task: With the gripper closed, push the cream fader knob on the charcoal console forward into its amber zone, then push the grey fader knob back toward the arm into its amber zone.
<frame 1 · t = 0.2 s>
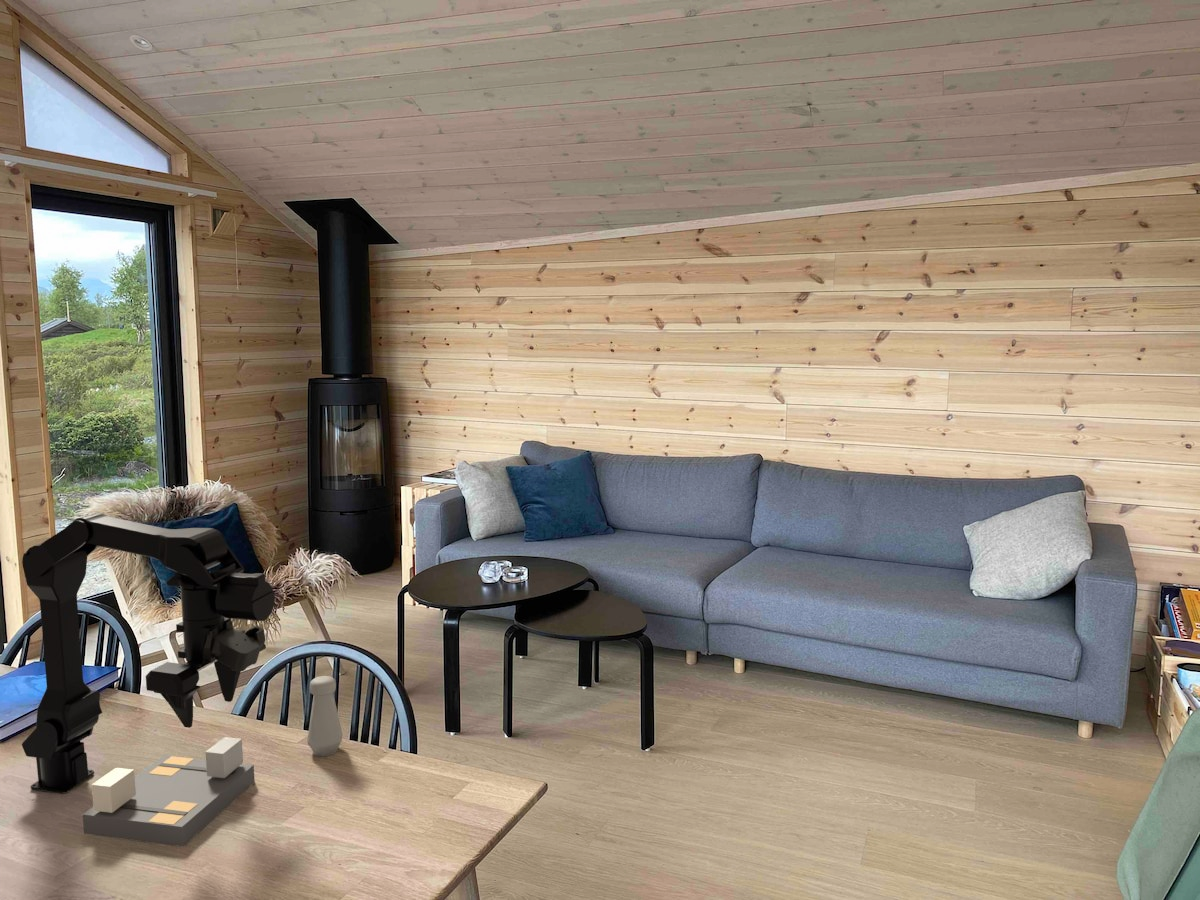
hand: (209, 713, 139), 14 cm above the table, tool pointing down, fingers open, 9 cm apart
grey fader: (224, 757, 144), point 6 cm above the table, slide at 5.0 cm
console: (173, 806, 140), on the table
cream fader: (114, 789, 134), point 6 cm above the table, slide at -5.0 cm
salt shaker: (325, 751, 157), on the table
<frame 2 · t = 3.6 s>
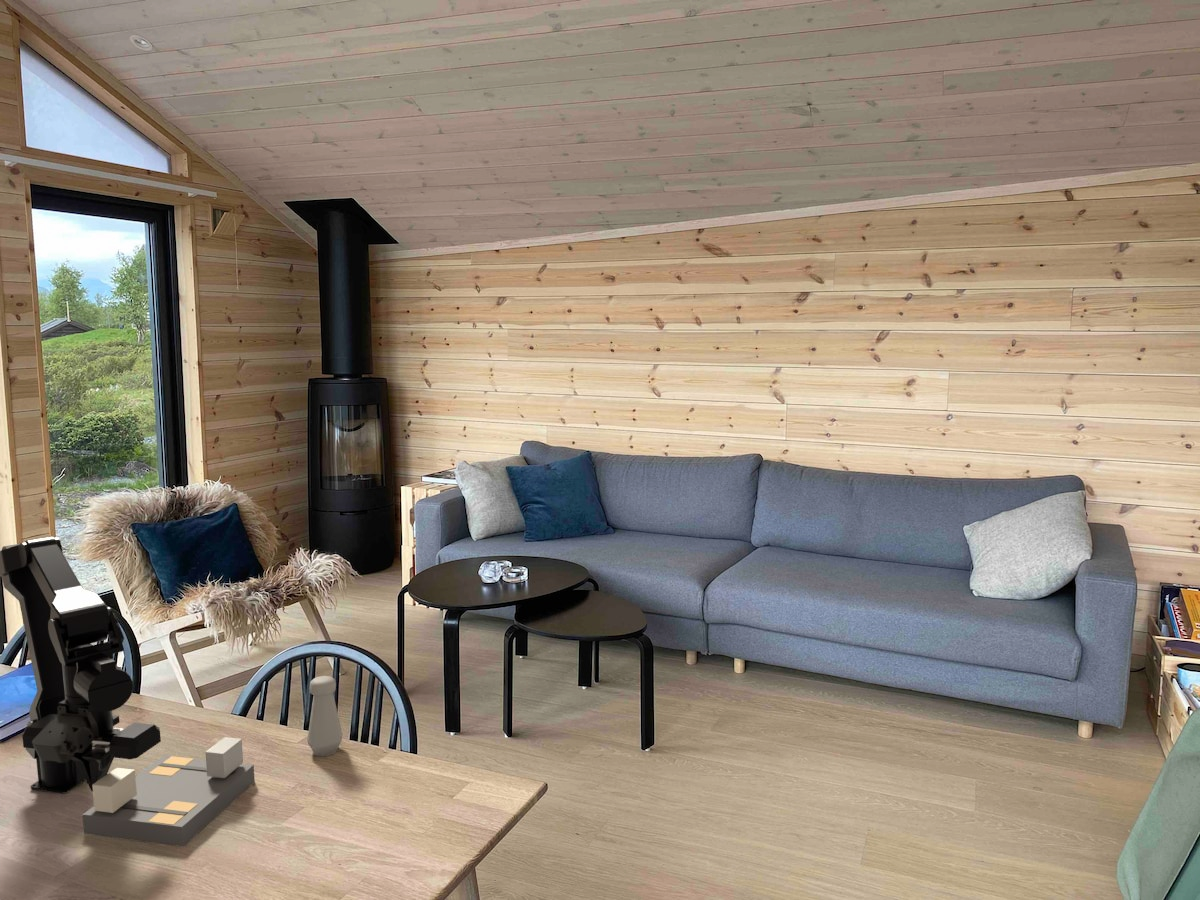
hand: (96, 790, 135), 5 cm above the table, tool pointing down, fingers closed
cream fader: (114, 789, 134), point 6 cm above the table, slide at -4.9 cm, touching gripper
everything else where it was.
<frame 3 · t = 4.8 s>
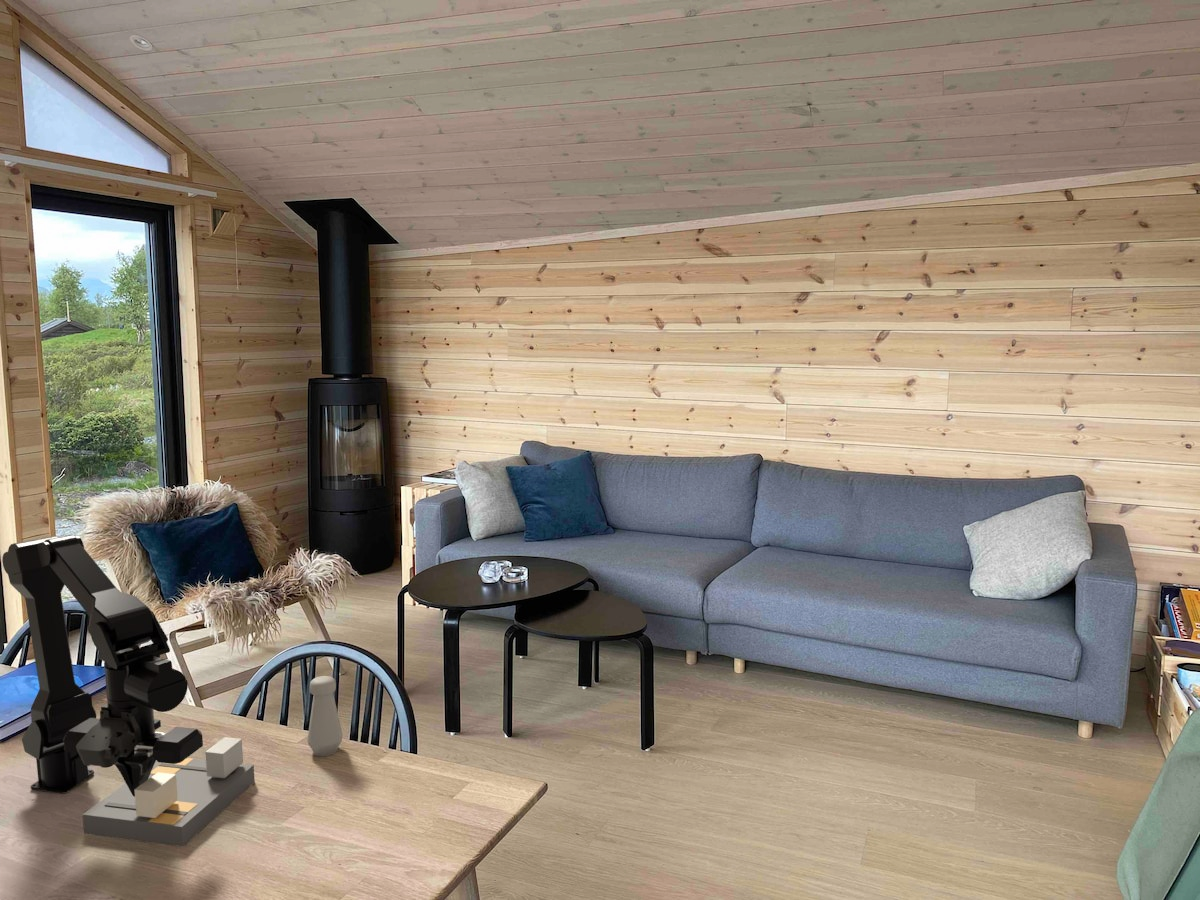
hand: (137, 795, 133), 5 cm above the table, tool pointing down, fingers closed
cream fader: (156, 794, 133), point 5 cm above the table, slide at 2.0 cm, touching gripper
everything else where it was.
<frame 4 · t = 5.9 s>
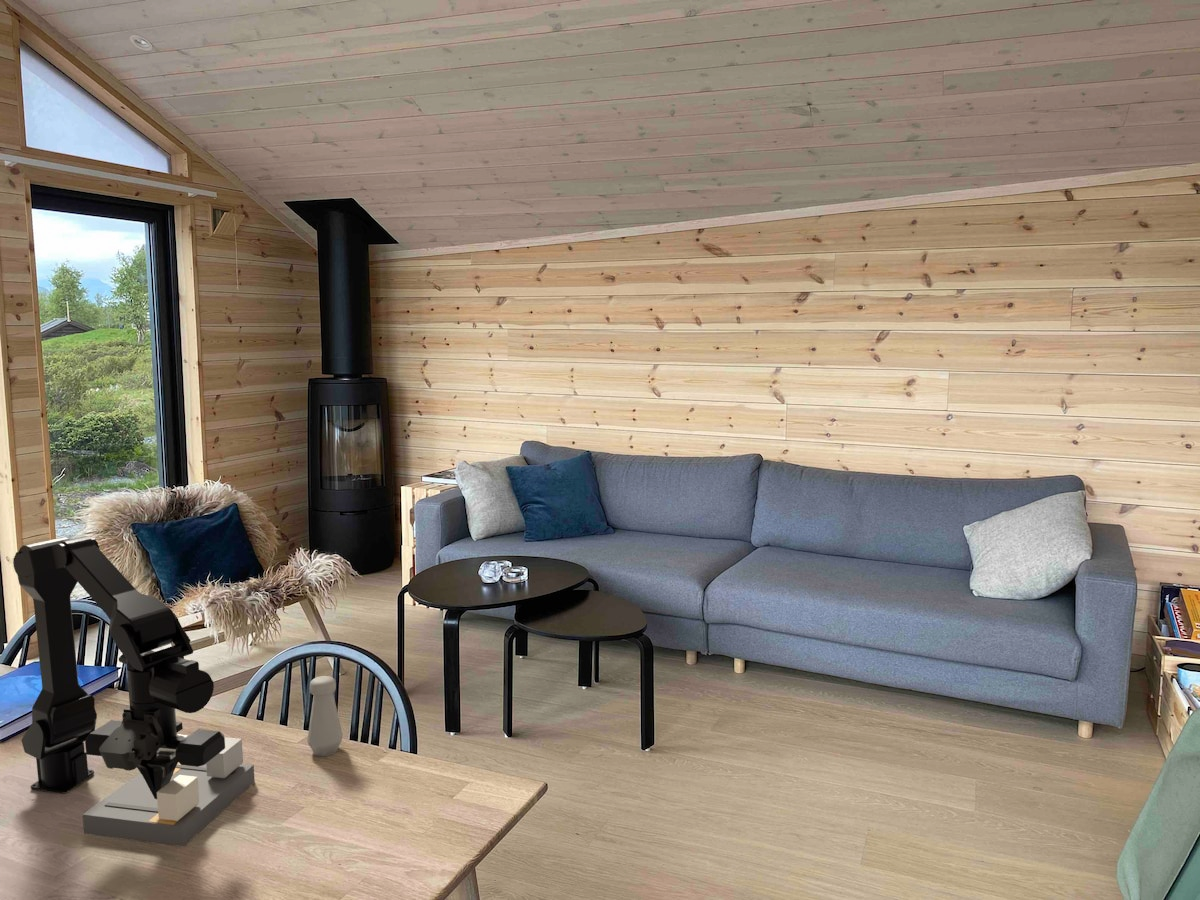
hand: (159, 798, 133), 5 cm above the table, tool pointing down, fingers closed
cream fader: (178, 797, 132), point 5 cm above the table, slide at 5.5 cm, touching gripper
everything else where it was.
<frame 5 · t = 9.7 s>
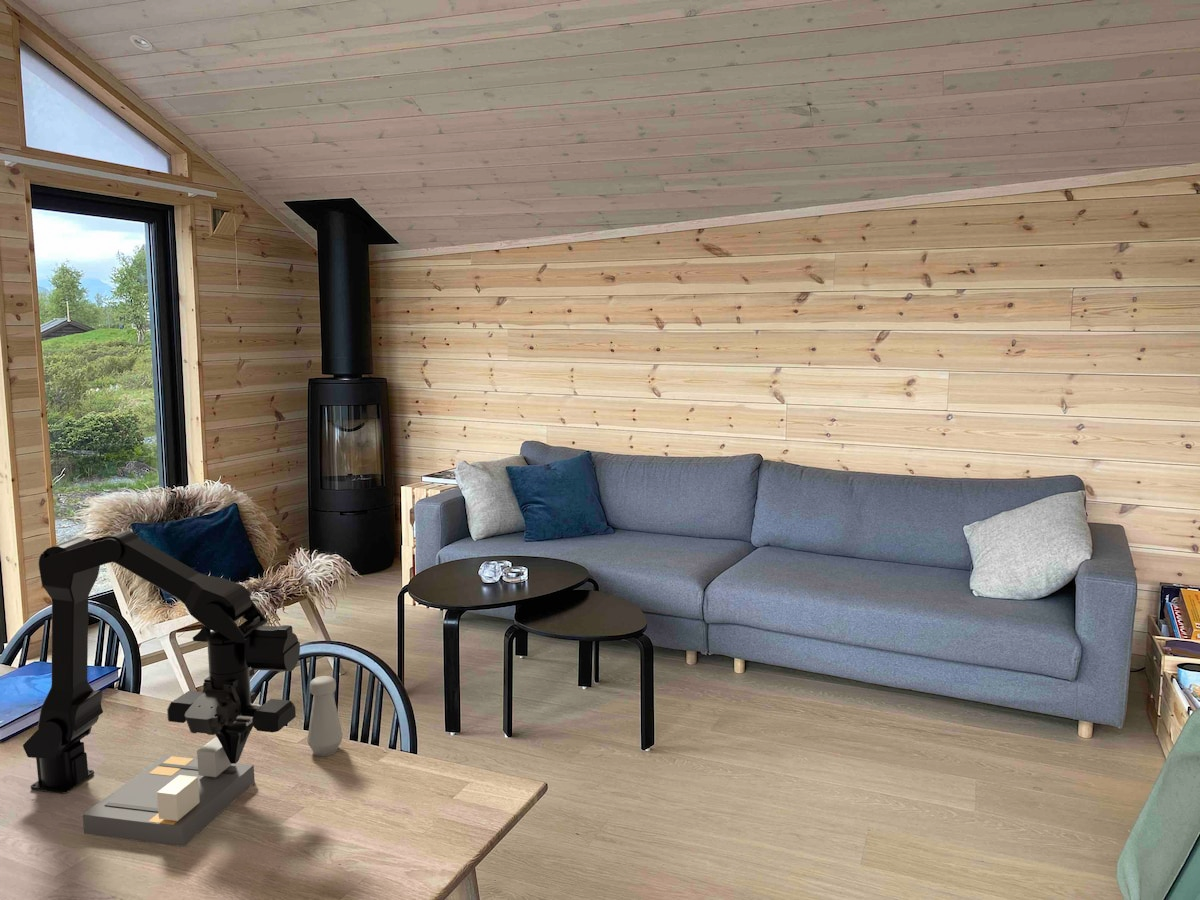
hand: (234, 762, 143), 5 cm above the table, tool pointing down, fingers closed
grey fader: (216, 756, 144), point 6 cm above the table, slide at 3.5 cm, touching gripper
cream fader: (178, 797, 132), point 5 cm above the table, slide at 5.5 cm
everything else where it was.
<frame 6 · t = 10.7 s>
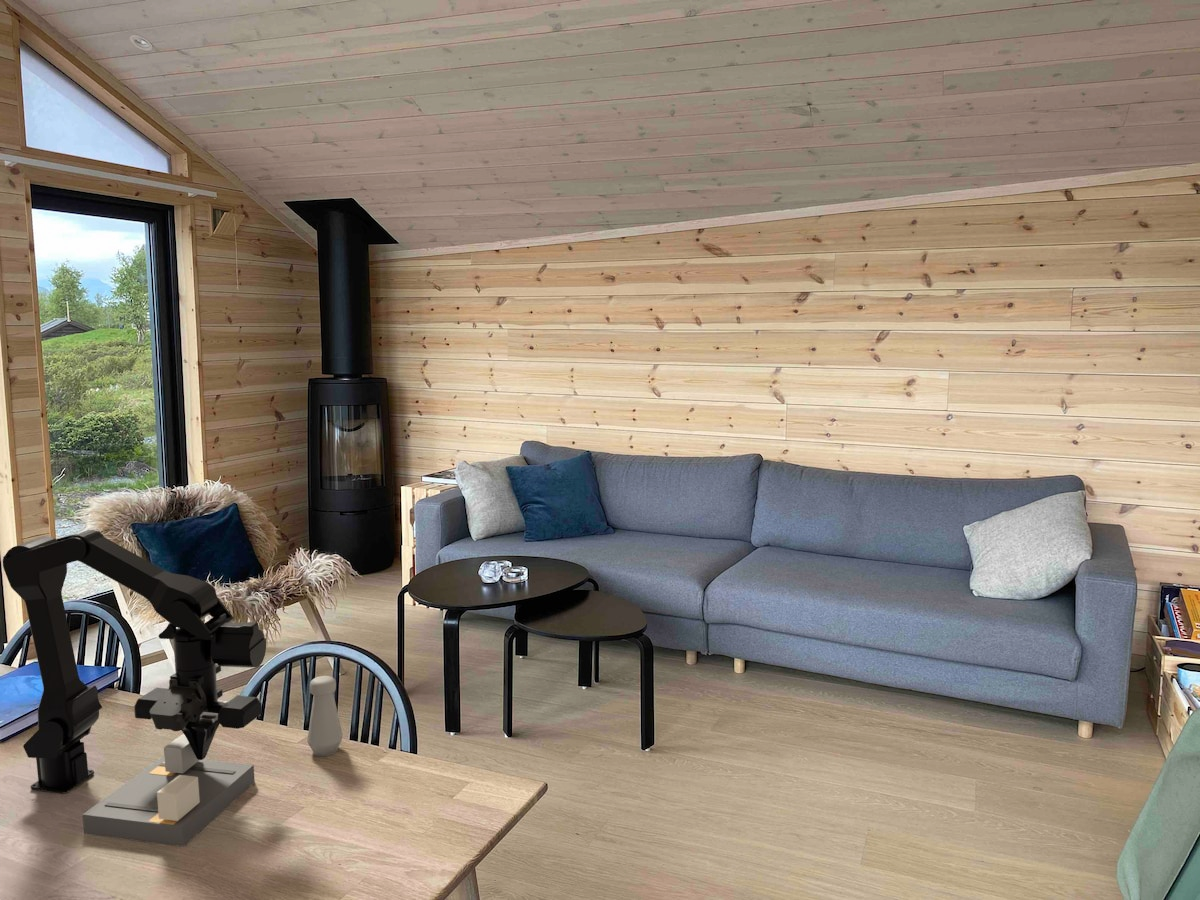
hand: (201, 758, 145), 5 cm above the table, tool pointing down, fingers closed
grey fader: (183, 752, 145), point 5 cm above the table, slide at -2.2 cm, touching gripper
everything else where it was.
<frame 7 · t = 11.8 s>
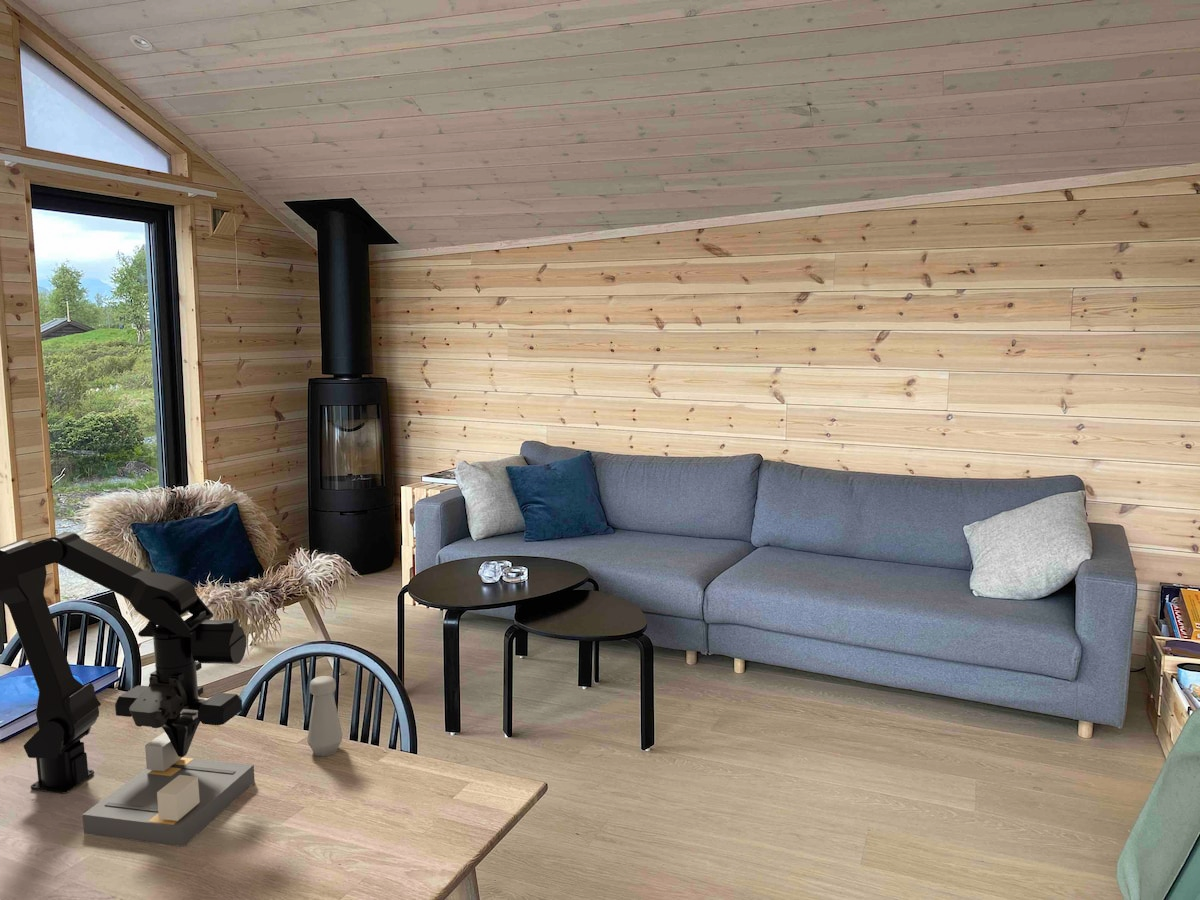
hand: (182, 755, 145), 5 cm above the table, tool pointing down, fingers closed
grey fader: (164, 750, 146), point 6 cm above the table, slide at -5.5 cm, touching gripper
everything else where it was.
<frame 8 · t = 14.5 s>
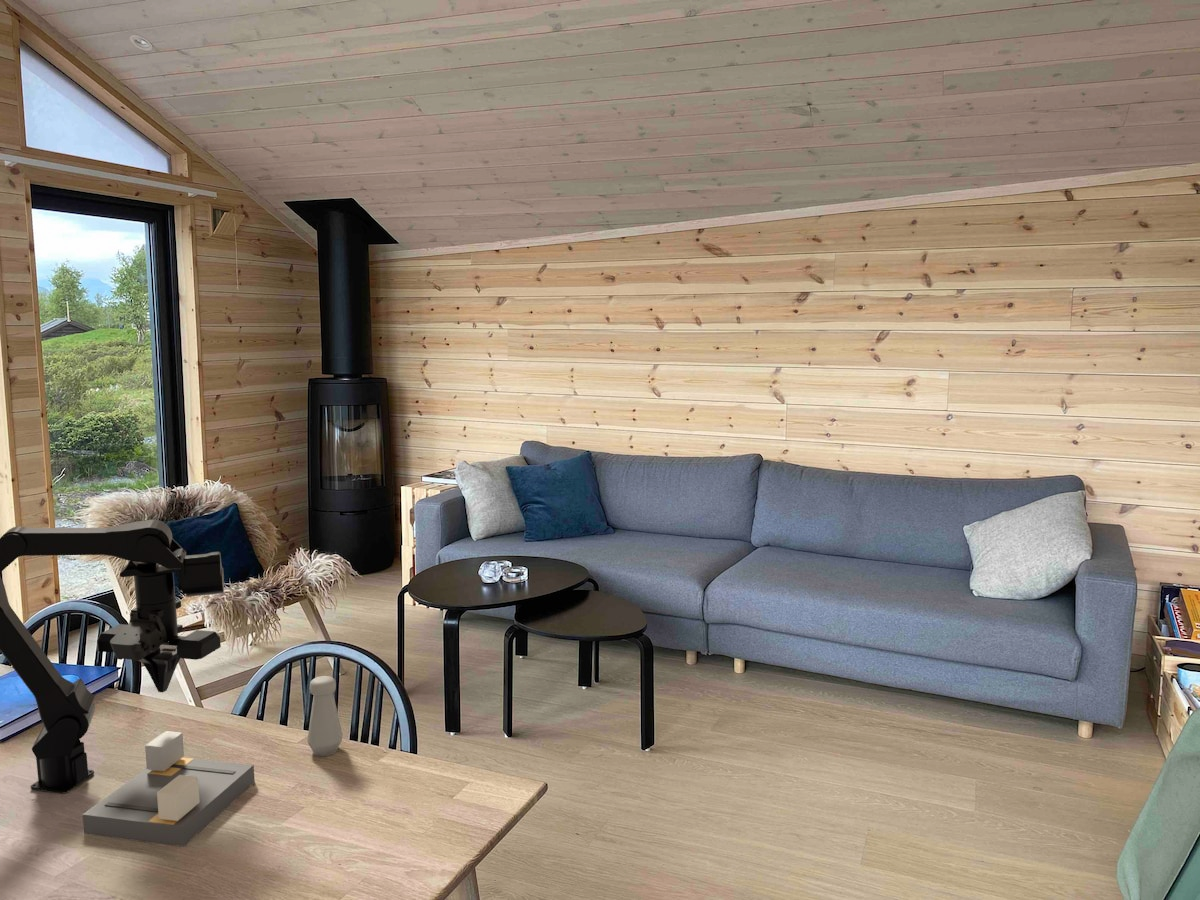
hand: (162, 691, 150), 13 cm above the table, tool pointing down, fingers closed
grey fader: (164, 750, 146), point 6 cm above the table, slide at -5.5 cm
everything else where it was.
at the end: cream fader slide at 5.5 cm; grey fader slide at -5.5 cm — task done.
